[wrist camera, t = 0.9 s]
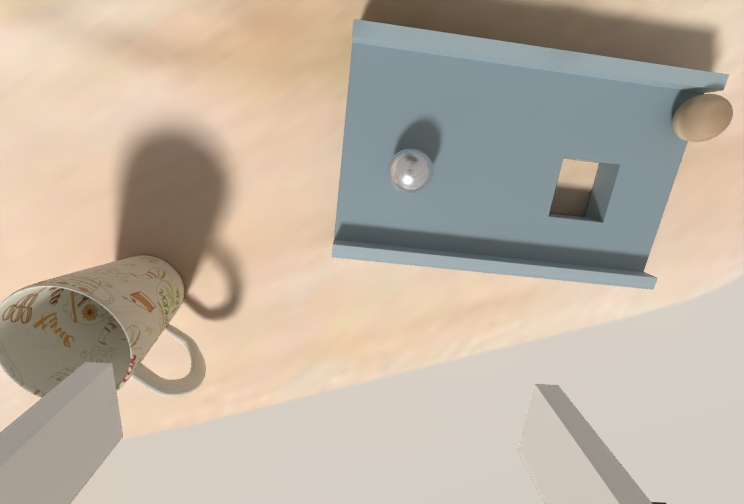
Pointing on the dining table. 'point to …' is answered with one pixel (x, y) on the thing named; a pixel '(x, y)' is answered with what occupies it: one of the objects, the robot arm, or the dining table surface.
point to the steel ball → (410, 170)
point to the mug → (96, 326)
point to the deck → (507, 154)
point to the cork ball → (702, 118)
